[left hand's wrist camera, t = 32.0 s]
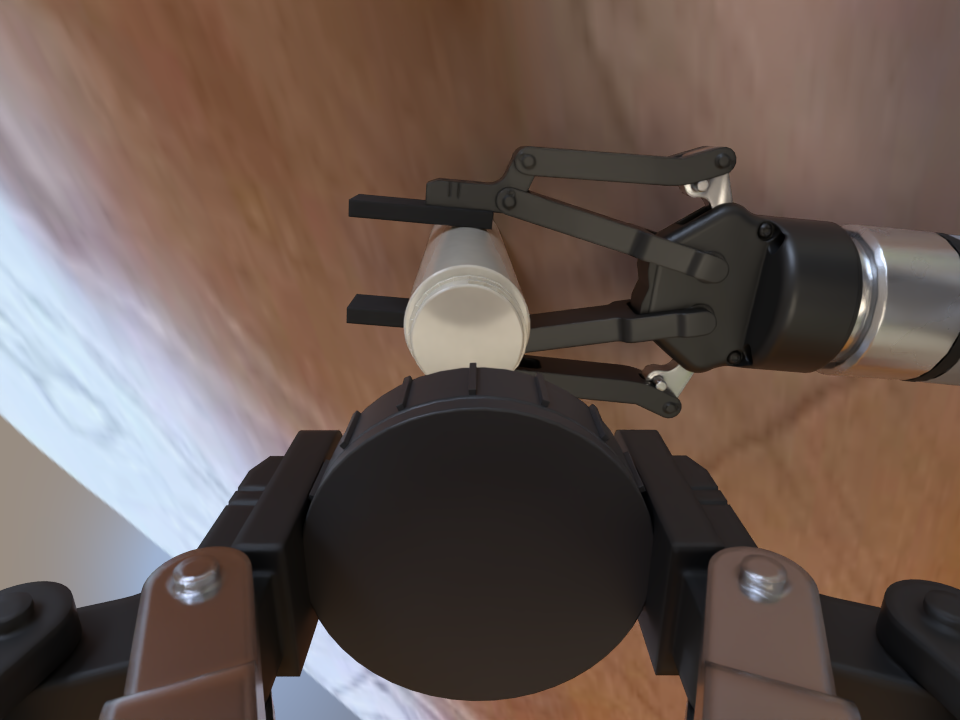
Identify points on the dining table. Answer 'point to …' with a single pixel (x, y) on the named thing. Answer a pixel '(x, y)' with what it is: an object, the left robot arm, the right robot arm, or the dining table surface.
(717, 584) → the left robot arm
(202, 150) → the dining table surface
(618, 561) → the lid
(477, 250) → the beige cylinder
